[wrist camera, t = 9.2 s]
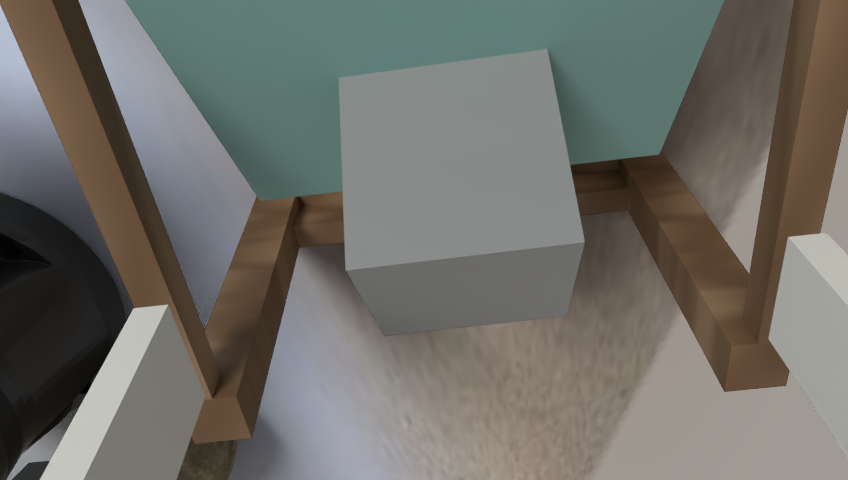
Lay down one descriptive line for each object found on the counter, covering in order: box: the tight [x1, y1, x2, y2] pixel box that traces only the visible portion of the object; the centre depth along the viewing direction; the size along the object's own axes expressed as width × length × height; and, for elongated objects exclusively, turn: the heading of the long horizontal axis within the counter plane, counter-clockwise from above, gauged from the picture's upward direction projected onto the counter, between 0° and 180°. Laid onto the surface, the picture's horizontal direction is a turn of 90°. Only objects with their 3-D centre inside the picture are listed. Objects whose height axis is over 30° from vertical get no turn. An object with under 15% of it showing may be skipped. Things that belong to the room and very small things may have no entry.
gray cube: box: [339, 49, 585, 336], centre depth 21 cm, size 6×6×6 cm
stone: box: [177, 436, 238, 480], centre depth 42 cm, size 9×14×10 cm, turn 155°
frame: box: [0, 0, 848, 444], centre depth 24 cm, size 20×20×15 cm
